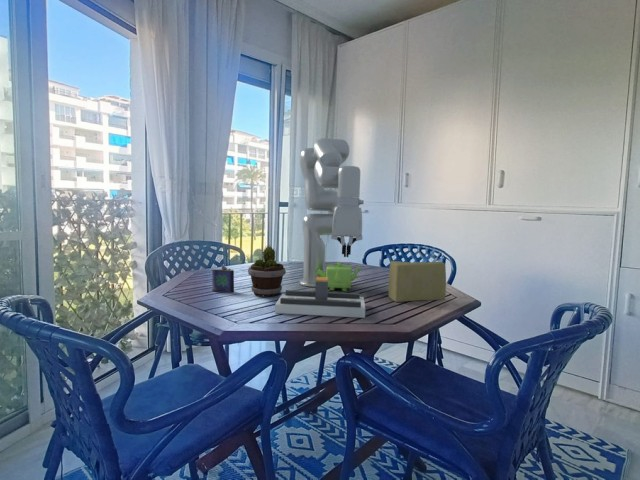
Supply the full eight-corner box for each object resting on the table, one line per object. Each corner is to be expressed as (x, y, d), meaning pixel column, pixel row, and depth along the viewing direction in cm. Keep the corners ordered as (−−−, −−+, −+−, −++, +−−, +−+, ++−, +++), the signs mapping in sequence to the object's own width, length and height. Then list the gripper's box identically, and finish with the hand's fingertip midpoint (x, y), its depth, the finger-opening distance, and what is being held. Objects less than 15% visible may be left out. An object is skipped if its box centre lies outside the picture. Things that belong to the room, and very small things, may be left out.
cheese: (438, 296, 159) (441, 260, 157) (449, 302, 150) (452, 264, 148) (387, 296, 156) (389, 259, 154) (395, 302, 146) (397, 264, 145)
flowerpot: (279, 300, 145) (280, 247, 143) (241, 296, 148) (241, 245, 146) (290, 291, 159) (291, 243, 157) (255, 288, 162) (255, 241, 160)
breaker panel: (282, 301, 144) (282, 289, 143) (363, 305, 142) (363, 292, 141) (275, 313, 129) (275, 299, 128) (365, 317, 127) (365, 304, 126)
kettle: (362, 289, 165) (363, 264, 164) (339, 294, 156) (340, 267, 154) (337, 283, 176) (338, 259, 175) (314, 287, 167) (315, 262, 165)
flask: (210, 291, 155) (211, 264, 154) (214, 289, 158) (214, 263, 157) (232, 292, 154) (232, 266, 152) (235, 291, 157) (235, 265, 155)
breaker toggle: (316, 297, 138) (316, 276, 137) (327, 298, 137) (328, 277, 136) (315, 301, 133) (315, 279, 132) (326, 301, 132) (327, 280, 131)
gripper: (369, 203, 134) (367, 255, 136) (326, 202, 135) (325, 254, 137) (370, 204, 126) (368, 259, 128) (325, 202, 127) (323, 257, 129)
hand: (346, 256), depth 133 cm, fingers closed
